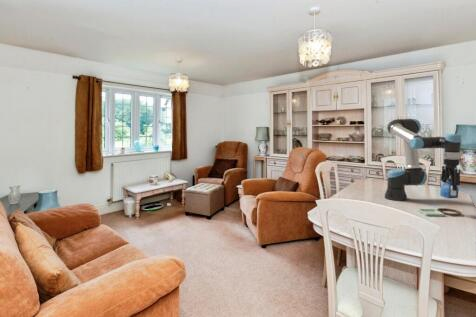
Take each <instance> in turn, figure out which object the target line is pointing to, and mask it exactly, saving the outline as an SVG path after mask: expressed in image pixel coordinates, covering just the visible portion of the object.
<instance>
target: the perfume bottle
mask: <svg viewBox="0 0 476 317" xmlns="http://www.w3.org/2000/svg"><path fill="white" fill-rule="evenodd" d="M446 182H447V183H444V184H443V183H442V185H441V186H440V190H439V192H440V193H439V196H440V197H441V198H446V199H458V198H459V187H458V186H457V190H456V196H452V195H450V192H451V185H452V181H451V177H449V178H447V181H446Z"/></svg>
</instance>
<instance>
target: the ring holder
mask: <svg viewBox="0 0 476 317" xmlns="http://www.w3.org/2000/svg"><path fill="white" fill-rule="evenodd" d="M436 210H437V211H439V212H441V213H443V214H445V216H449V217H460V216H461V215H462V211H459V210H457V209H453V208H448V207H447V208H446V207H444V208H443V207H441V208H439V207H438V208H436ZM447 211H448V212H447Z"/></svg>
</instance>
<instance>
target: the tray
mask: <svg viewBox="0 0 476 317" xmlns="http://www.w3.org/2000/svg"><path fill="white" fill-rule="evenodd" d="M417 212H419V213H420V214H422V215H423V216H425V217H445V216H446V215H445V214H443V213H441V212H442V211H441V212H439V211H437V209H436V208H417Z"/></svg>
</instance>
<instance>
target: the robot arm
mask: <svg viewBox="0 0 476 317" xmlns="http://www.w3.org/2000/svg"><path fill="white" fill-rule="evenodd" d="M386 128H387V132H388V133H389V134H390V135H393V136H397V137H398V138H400V139H401V140H402V141H403V149H404V157H405V165H406V166H405V168H394V169H390V170H388V171H387V182H386V183H387V184H386V185H387V186H386V188H387V189H386V190H385V193H384V198H385V199H387V200H391V201H397V202H400V201H401V202H403V201H407V199H408V196H407V193H406V190H405V187H406V186H416V187H417V186H423V185H425V184H426V182H427V180H428V174H427V172H426V171H425V170H423V167H422V166H420V158H419V152H418V150H421V149H424V150H425V149H444V152H443V155H444V159H443V164H444V165H445V166H443V165H442V166H441V176H440V181H441V182H442V185H443V184H444V183H447V182H446V181H447V178H451V181H452V185H451V192H450V195H452V196H456V190H457V187H458V186H460V185H461V169H459V168H458V166H459V165H460V158H461V145H462V135H461V134H457V133H456V134H455V133H453V134H450V133H449V134H446V135H445V137H444V136H431V137H426V136H425V137H424V136H421V135H419V132H420V131H421V128H422V125H421V123H420V121H419V120H418V119H417V118H402V119H401V118H400V119H398V118H397V119H393V120H391V121H390V122H388V124H387V127H386Z"/></svg>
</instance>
